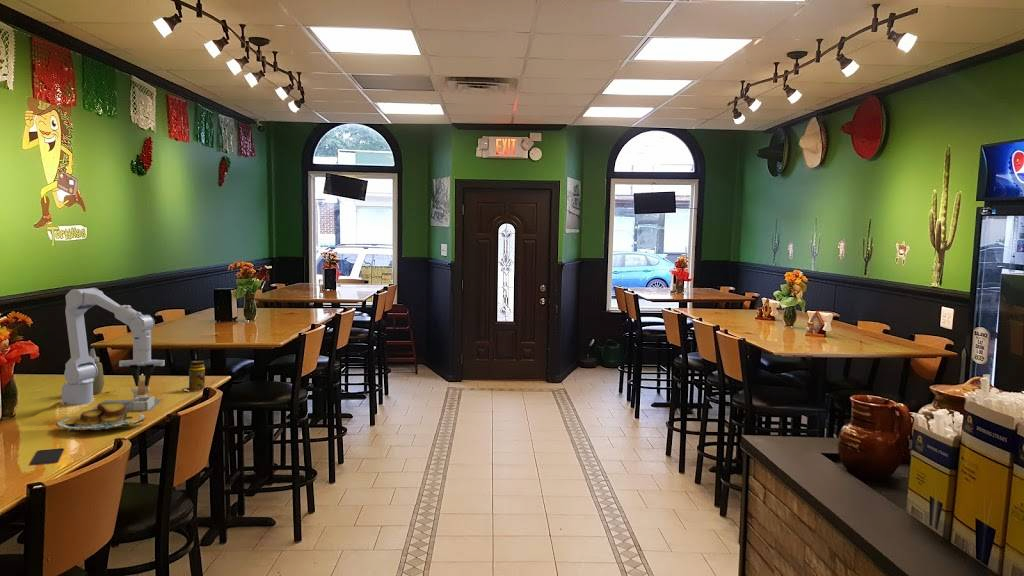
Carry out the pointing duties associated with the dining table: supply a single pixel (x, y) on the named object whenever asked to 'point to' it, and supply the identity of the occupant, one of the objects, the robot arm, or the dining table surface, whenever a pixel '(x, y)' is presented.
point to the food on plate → (101, 417)
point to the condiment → (196, 376)
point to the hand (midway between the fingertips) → (142, 385)
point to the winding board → (137, 402)
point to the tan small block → (142, 387)
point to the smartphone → (47, 456)
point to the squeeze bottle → (99, 379)
